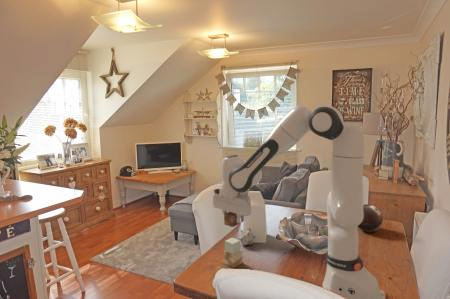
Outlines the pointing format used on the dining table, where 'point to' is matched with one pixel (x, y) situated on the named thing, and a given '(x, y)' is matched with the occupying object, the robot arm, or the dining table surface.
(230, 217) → the walnut block
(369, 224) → the wooden sphere
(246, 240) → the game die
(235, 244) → the sage block
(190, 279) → the dining table surface
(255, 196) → the milk
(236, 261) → the oak base block
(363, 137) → the robot arm
